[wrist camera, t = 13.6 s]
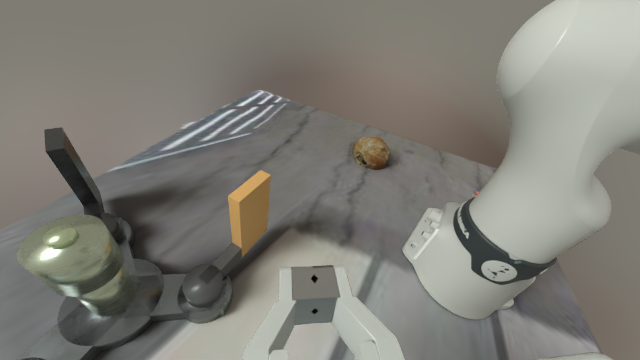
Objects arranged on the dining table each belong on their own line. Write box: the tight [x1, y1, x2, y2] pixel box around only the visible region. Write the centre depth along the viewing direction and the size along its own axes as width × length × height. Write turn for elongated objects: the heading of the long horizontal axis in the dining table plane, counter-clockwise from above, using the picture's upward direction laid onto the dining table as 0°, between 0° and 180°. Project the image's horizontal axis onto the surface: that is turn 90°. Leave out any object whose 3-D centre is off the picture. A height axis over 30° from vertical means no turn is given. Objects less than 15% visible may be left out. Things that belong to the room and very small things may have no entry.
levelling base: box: [16, 128, 233, 360], centre depth 22 cm, size 29×30×15 cm
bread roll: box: [352, 137, 390, 170], centre depth 64 cm, size 10×10×8 cm
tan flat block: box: [182, 170, 271, 308], centre depth 31 cm, size 14×4×12 cm, turn 153°
